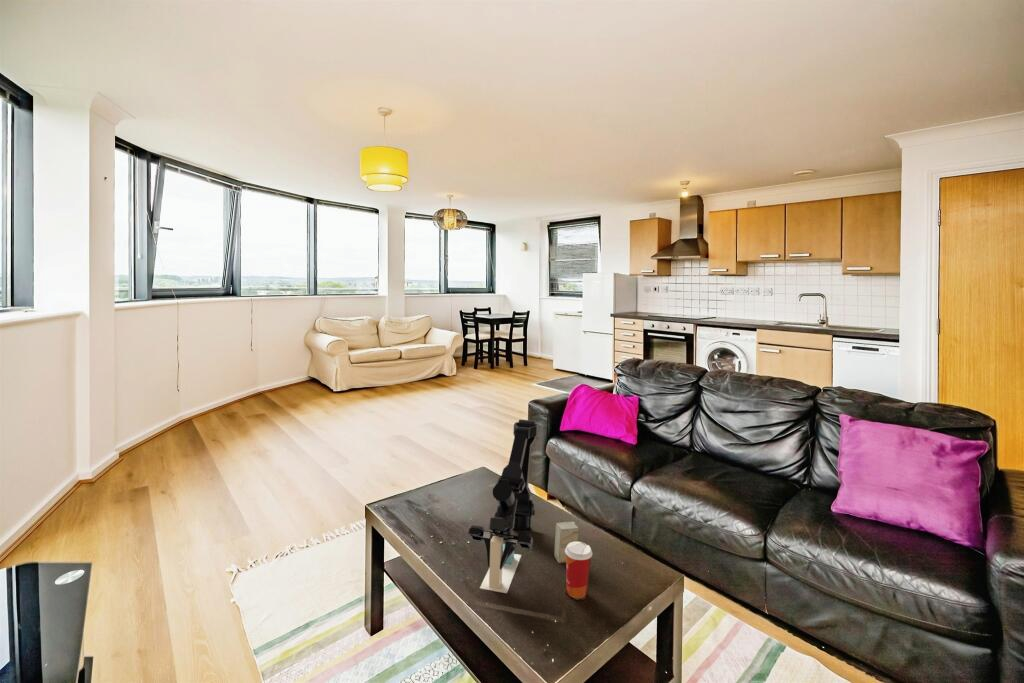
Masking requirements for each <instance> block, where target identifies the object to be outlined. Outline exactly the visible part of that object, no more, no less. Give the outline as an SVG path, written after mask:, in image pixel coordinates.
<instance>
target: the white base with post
mask: <svg viewBox="0 0 1024 683" xmlns="http://www.w3.org/2000/svg"><path fill="white" fill-rule="evenodd" d="M503 538H504V537H499V536H493V537H492V539H491V541H490V568H489V567H488V570H487V572H486V574H485V576H484V578H483V581H482V583H481V584H480V586H479V589H481V590H488V591H492V592H497V593H504V594H508V591H509V588H510V586H511V583H512V582H513V578H514V576H515V573H516V570H517V568H518V565H519V564H520V560H521V558H522V554H518V553H514V559H513V561H512V564H511V565H510V564H504V566H503V568H502V570H500V563H501V559H502V556H503V544H504V541H503Z"/></svg>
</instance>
